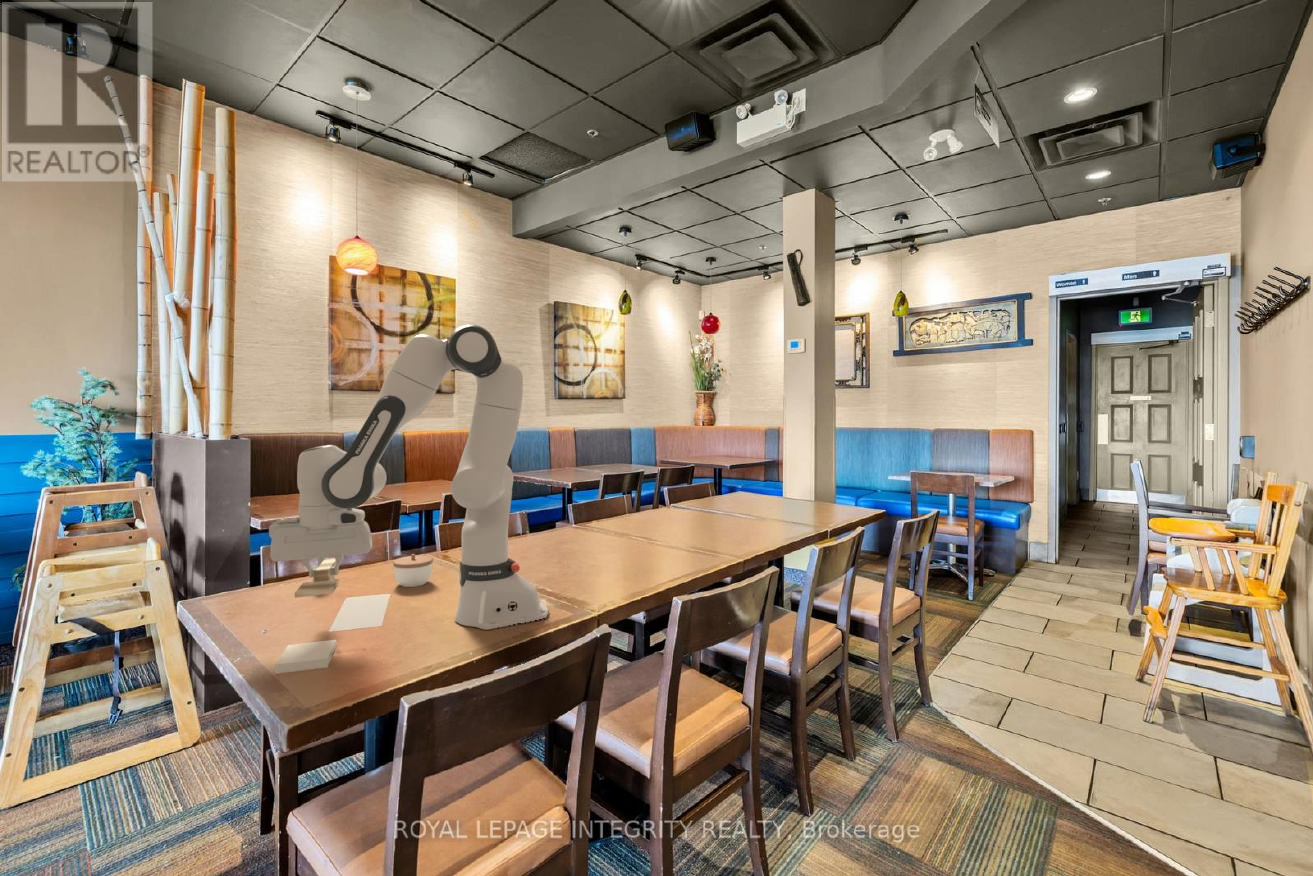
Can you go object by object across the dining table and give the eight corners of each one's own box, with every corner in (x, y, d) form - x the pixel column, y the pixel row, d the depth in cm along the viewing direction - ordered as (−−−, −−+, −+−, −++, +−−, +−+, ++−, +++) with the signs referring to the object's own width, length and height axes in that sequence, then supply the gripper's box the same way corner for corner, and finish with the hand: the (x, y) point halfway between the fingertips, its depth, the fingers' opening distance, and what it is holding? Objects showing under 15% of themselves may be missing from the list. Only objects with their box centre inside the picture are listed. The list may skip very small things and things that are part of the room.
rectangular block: (336, 639, 124) (327, 658, 115) (336, 649, 124) (327, 668, 115) (288, 645, 121) (274, 664, 112) (288, 655, 121) (275, 675, 112)
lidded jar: (429, 578, 177) (429, 548, 176) (436, 587, 168) (436, 555, 167) (391, 584, 171) (390, 552, 171) (396, 593, 162) (395, 560, 162)
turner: (315, 571, 141) (315, 559, 141) (348, 568, 143) (347, 556, 143) (294, 597, 120) (294, 583, 120) (332, 593, 123) (332, 579, 123)
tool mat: (390, 595, 160) (390, 593, 160) (381, 628, 136) (381, 626, 136) (346, 599, 156) (346, 597, 156) (328, 634, 132) (328, 631, 132)
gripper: (264, 522, 126) (267, 585, 126) (368, 514, 133) (371, 574, 133) (272, 517, 131) (275, 577, 132) (371, 510, 139) (374, 567, 139)
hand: (324, 575), depth 133 cm, fingers closed on turner, 3 cm apart
